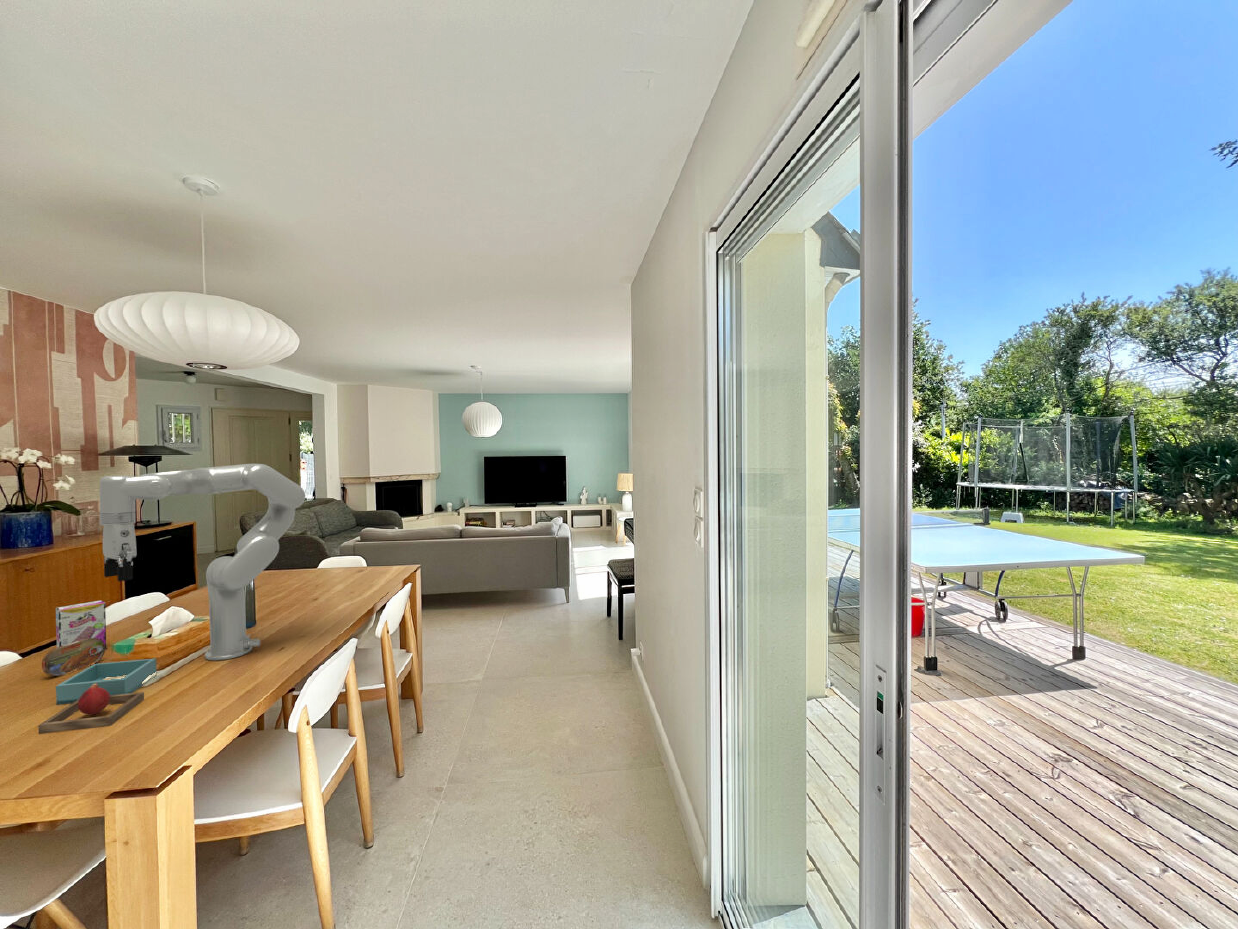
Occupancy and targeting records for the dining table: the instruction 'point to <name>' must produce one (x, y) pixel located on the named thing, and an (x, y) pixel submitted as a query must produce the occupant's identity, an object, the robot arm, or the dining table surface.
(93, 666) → the bin
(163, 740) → the dining table surface
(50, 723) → the frame
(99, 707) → the onion
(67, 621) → the candy bar box
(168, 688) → the dining table surface
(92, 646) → the tin
